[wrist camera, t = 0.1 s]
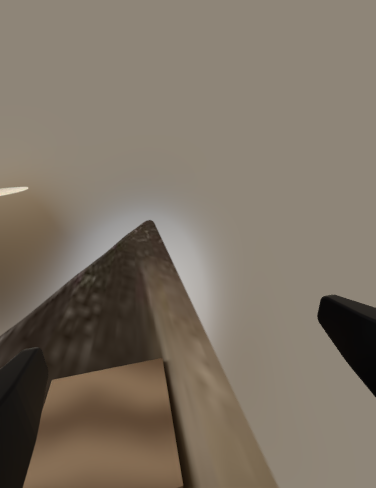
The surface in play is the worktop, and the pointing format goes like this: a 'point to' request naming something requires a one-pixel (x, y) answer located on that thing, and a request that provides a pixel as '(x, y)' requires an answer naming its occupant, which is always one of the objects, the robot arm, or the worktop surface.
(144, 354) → the worktop surface
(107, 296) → the worktop surface
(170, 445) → the walnut board
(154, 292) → the worktop surface
